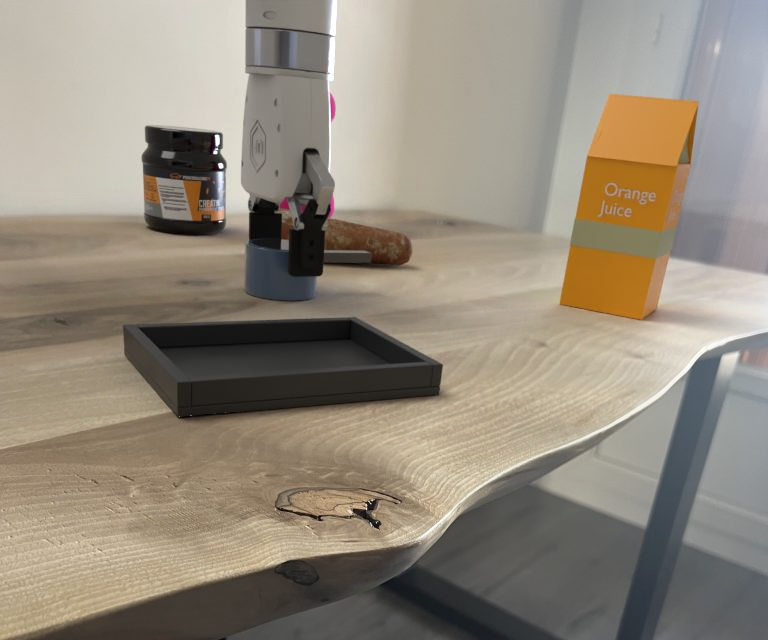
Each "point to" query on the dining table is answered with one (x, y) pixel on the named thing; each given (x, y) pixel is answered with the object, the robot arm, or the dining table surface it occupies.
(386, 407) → the dining table surface
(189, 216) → the supplement container
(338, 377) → the tray
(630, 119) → the orange juice
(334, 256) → the pan
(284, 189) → the robot arm
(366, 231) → the brown elongated bar
